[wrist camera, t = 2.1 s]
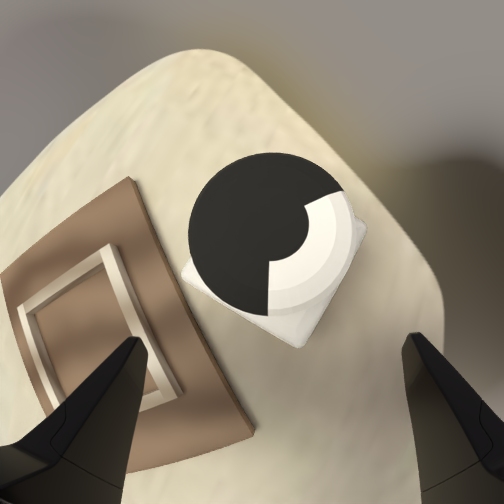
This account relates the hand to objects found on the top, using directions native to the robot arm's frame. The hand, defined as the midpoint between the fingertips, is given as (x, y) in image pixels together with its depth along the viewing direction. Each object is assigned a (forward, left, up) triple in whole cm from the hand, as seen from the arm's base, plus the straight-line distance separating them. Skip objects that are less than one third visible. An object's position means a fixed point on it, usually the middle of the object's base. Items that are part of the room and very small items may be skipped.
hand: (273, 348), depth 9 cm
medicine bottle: (+4, -2, -12) cm, 13 cm away
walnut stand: (+5, +14, -12) cm, 19 cm away
